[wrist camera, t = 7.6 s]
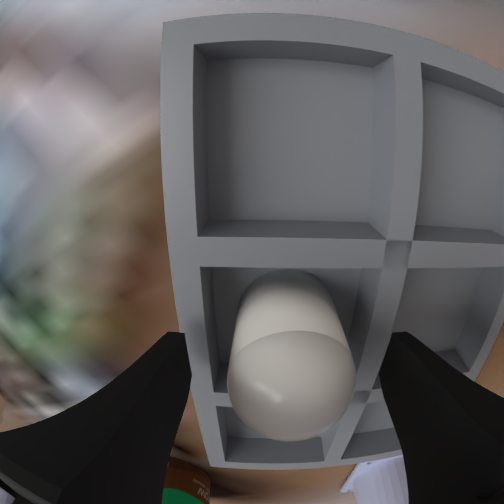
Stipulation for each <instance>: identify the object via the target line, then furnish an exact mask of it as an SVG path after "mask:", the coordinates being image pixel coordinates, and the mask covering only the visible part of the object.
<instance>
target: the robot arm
mask: <svg viewBox="0 0 504 504" xmlns="http://www.w3.org/2000/svg"><path fill="white" fill-rule="evenodd" d="M191 378H192V372H191V366H190V361H189V355H188V350H187V344H186V338H185V333H179V332H167V333H166V334H165V335H164V336H162V337H161V338H160V339H159V340H158V341H157V342H156V343H155V344H154V345H153V346H152V347H151V348H150V349H149V350H147V351H146V352H145V353H144V354H143V355H142V356H141V357H140V358H139V359H138V360H137V361H135V362H134V363H133V364H132V365H131V366H130V367H129V368H127V369H126V370H125V371H124V372H123V373H121V374H120V375H119V376H118V377H116V378H115V379H114V380H113V381H111V382H110V383H109V384H107V385H106V386H105V387H103V388H102V389H100V390H99V391H98V392H96V393H94V394H93V395H91V396H90V397H88V398H87V399H85V400H83V401H82V402H80V403H78V404H76V405H74V406H72V407H70V408H68V409H66V410H65V411H63V412H61V413H59V414H56V415H54V416H52V417H49V418H47V419H45V420H42V421H39V422H37V423H34V424H31V425H28V426H25V427H21V428H17V429H13V430H9V431H5V432H0V479H1V480H2V481H3V482H5V483H6V484H7V485H8V486H9V487H11V488H12V489H13V490H14V491H16V492H17V493H18V494H17V496H16V498H14V497H13V496H11V495H10V494H9V493H7V492H6V491H5V490H3V489H2V488H0V504H162V496H163V489H164V483H165V477H166V471H167V466H168V461H169V456H170V453H171V449H172V446H173V443H174V440H175V437H176V433H177V430H178V427H179V424H180V421H181V418H182V415H183V412H184V409H185V406H186V403H187V400H188V395H189V390H190V384H191ZM379 378H380V383H381V388H382V392H383V397H384V400H385V403H386V405H387V408H388V411H389V414H390V417H391V420H392V422H393V425H394V428H395V431H396V434H397V437H398V440H399V443H400V446H401V450H402V454H403V455H399V456H395V457H390V458H386V459H381V460H375V461H370V462H364V463H358V464H357V465H356V467H355V468H354V470H353V471H352V473H351V475H350V476H349V478H348V479H347V480H346V482H345V483H344V485H343V486H342V488H341V489H340V490H341V492H342V493H344V492H351V491H354V498H355V504H504V398H503V397H501V396H499V395H497V394H495V393H493V392H491V391H489V390H488V389H486V388H484V387H482V386H481V385H479V384H477V383H476V382H474V381H473V380H471V379H470V378H468V377H467V376H465V375H464V374H462V373H461V372H460V371H458V370H457V369H455V368H454V367H453V366H451V365H450V364H449V363H447V362H446V361H445V360H444V359H442V358H441V357H440V356H439V355H437V354H436V353H435V352H433V351H432V350H431V349H430V348H428V347H427V346H426V345H425V344H423V343H422V342H421V341H419V340H418V339H417V338H416V337H414V336H413V335H411V334H410V333H408V332H407V331H404V332H393V333H392V335H391V338H390V341H389V344H388V347H387V351H386V354H385V357H384V360H383V362H382V365H381V368H380V371H379Z"/></svg>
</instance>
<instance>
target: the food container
mask: <svg viewBox="0 0 504 504" xmlns="http://www.w3.org/2000/svg"><path fill="white" fill-rule="evenodd" d="M210 486H211V480H210V478H209V476H208V475H207V474H206V473H205V472H203V471H202V470H200V469H199V468H197V467H195V466H193V465H191V464H189V463H187V462H184V461H182V460H179V459H176V458H173V457H170V456H169V461H168V466H167V471H166V477H165V483H164V489H163V496H162V504H209V503H210Z"/></svg>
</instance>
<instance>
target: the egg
mask: <svg viewBox="0 0 504 504" xmlns="http://www.w3.org/2000/svg"><path fill="white" fill-rule="evenodd" d="M355 386H356V370H355V365H354V360H353V357H352V354H351V351H350V349H349V346H348V343H347V340H346V337H345V334H344V331H343V328H342V326H341V323H340V320H339V317H338V314H337V312H336V309H335V306H334V303H333V301H332V298H331V295H330V293H329V291H328V289H327V288H326V286H325V285H324V284H323V283H322V282H321V281H320V280H319V279H318V278H316V277H315V276H313V275H311V274H309V273H307V272H304V271H301V270H296V269H280V270H274V271H271V272H268V273H265V274H263V275H261V276H260V277H258V278H256V279H255V280H254V281H252V282H251V283H250V284H249V285H248V286H247V288H246V289H245V290H244V292H243V294H242V296H241V298H240V301H239V306H238V312H237V318H236V324H235V330H234V336H233V342H232V348H231V354H230V361H229V367H228V373H227V390H228V395H229V399H230V402H231V404H232V407H233V409H234V410H235V412H236V414H237V415H238V417H239V418H240V419H241V420H242V421H243V422H244V423H245V425H247V426H248V427H249V428H250V429H252V430H253V431H255V432H256V433H258V434H260V435H262V436H264V437H267V438H270V439H273V440H278V441H286V442H293V441H302V440H306V439H310V438H313V437H315V436H318V435H320V434H322V433H324V432H325V431H327V430H328V429H330V428H331V427H332V426H333V425H335V424H336V423H337V422H338V421H339V420H340V418H341V417H342V416H343V415H344V414H345V412H346V410H347V409H348V407H349V405H350V403H351V401H352V398H353V395H354V391H355Z"/></svg>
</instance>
